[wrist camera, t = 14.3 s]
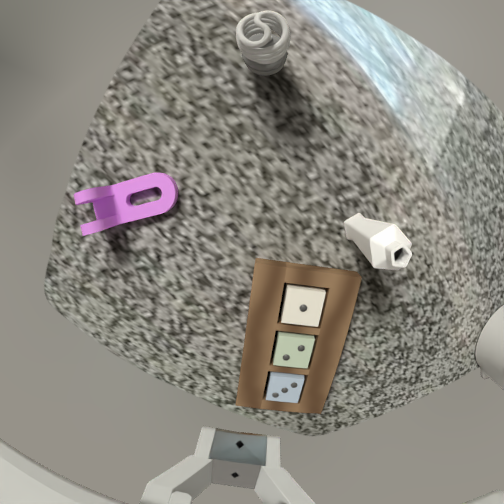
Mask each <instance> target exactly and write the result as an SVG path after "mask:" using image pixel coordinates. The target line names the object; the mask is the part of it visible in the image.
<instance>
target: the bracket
mask: <svg viewBox="0 0 504 504" xmlns="http://www.w3.org/2000/svg"><path fill="white" fill-rule="evenodd" d="M154 187H159V188H160V189H161V191H162V196H161V198H160V199H159V200H157V201H153V202H149V203H146V204H142V205H138V206H133V205H132V204H131V203H130V196H131V195H132V194H133V193H136V192H140V191H143V190H147V189H151V188H154ZM74 198H75V203H76V205H79V204H84V203H90V202H93V205H94V210H95V214H96V219H97V221H93V222H90V223H86V224H83V225H80V226H81V230H82V234H83V236H84V235H88V234H91V233H95V232H98V231H101V230H104V229H107V228H110V227H113V226H116V225H119V224H122V223H126V222H130V221H134V220H138V219H142V218H146V217H150V216H154V215H158V214H162V213H165V212H167V211H169V210H170V209H172V208H173V206H174V205H175V203H176V201H177V198H178V188H177V185H176V183H175V181H174V180H173V178H172V177H170V176H169V175H167V174H164V173H151V174H148V175H144V176H141V177H138V178H134V179H131V180H128V181H125V182H121V183H118V184H115V185H112V186H104V187H95V188H90V189H87V190H83V191H80V192H77V193H75V194H74Z"/></svg>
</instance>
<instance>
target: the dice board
mask: <svg viewBox="0 0 504 504" xmlns="http://www.w3.org/2000/svg"><path fill="white" fill-rule="evenodd" d="M361 278H362V277H361V276H360V275H359V274H358V272H356V271H348V270H341V269H333V268H326V267H319V266H311V265H304V264H297V263H290V262H282V261H275V260H268V259H261V258H256V261H255V267H254V274H253V282H252V289H251V297H250V304H249V311H248V319H247V326H246V334H245V341H244V348H243V356H242V363H241V370H240V377H239V385H238V392H237V399H236V405H237V406H244V407H251V408H259V409H268V410H277V411H288V412H301V413H318V414H321V412H322V409H323V407H324V404H325V401H326V398H327V395H328V393H329V390H330V387H331V384H332V381H333V378H334V375H335V372H336V369H337V366H338V363H339V359H340V356H341V353H342V350H343V346H344V343H345V340H346V336H347V333H348V329H349V325H350V322H351V318H352V314H353V311H354V307H355V303H356V299H357V295H358V291H359V287H360V283H361ZM284 282H286V283H293V284H301V285H308V286H316V287H324V288H325V292H326V294H325V299H324V303H323V308H322V312H321V316H320V321H319V325H318V327H315V326H306V325H297V324H289V323H281V316H278V315H279V310H280V304H281V298H282V293H283V287H284ZM276 330H277V331H285V332H294V333H303V334H312V335H315V336H314V338H315V341H314V345H313V349H312V353H311V357H310V361H309V364H308V368H296V367H286V366H277V365H273V357H271V353H272V348H273V343H274V337H275V332H276ZM268 371H273V372H282V373H291V374H302V375H304V383H303V386H302V390H301V393H300V396H299V400H298V403H291V402H280V401H271V400H266V391H264V389H265V384H266V379H267V374H268Z"/></svg>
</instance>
